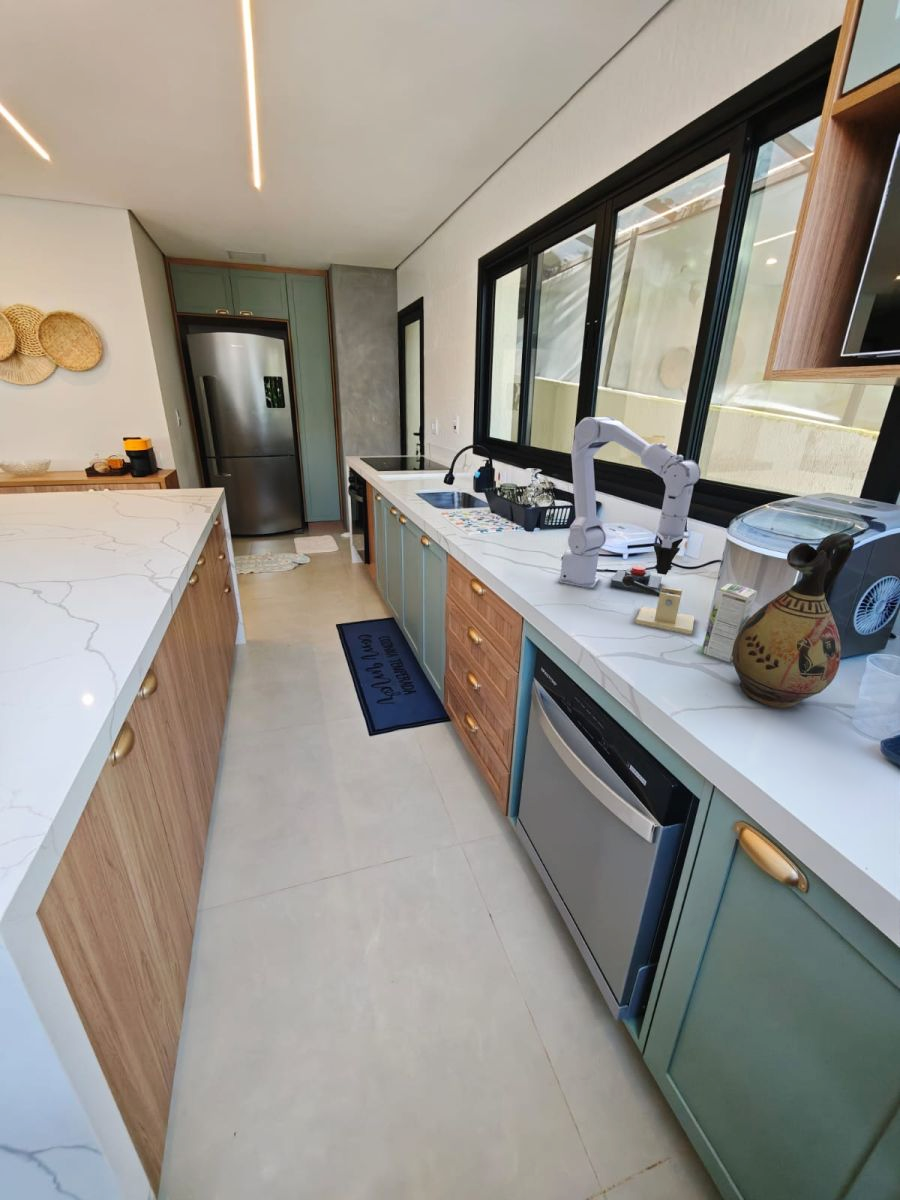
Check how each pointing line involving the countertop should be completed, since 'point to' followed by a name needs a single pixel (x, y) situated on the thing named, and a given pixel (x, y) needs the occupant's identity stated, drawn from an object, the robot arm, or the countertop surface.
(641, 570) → the button
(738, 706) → the countertop surface
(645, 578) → the block
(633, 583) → the lever
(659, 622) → the cream lever stand
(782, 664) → the ceramic jug
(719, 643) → the syrup box
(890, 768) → the countertop surface
